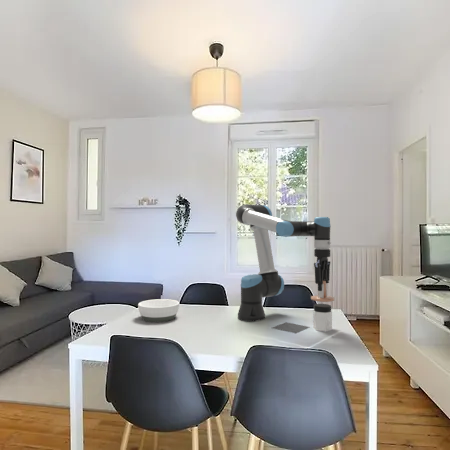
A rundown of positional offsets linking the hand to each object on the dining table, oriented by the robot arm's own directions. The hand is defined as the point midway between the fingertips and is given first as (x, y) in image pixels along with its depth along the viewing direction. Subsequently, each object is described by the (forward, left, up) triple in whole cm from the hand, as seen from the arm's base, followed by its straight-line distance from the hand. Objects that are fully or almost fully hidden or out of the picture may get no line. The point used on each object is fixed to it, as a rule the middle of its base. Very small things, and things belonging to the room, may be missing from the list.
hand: (322, 296), depth 175 cm
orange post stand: (0, 0, -1) cm, 1 cm away
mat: (-13, -8, -16) cm, 22 cm away
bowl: (-79, -37, -16) cm, 89 cm away
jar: (0, 0, -16) cm, 16 cm away
